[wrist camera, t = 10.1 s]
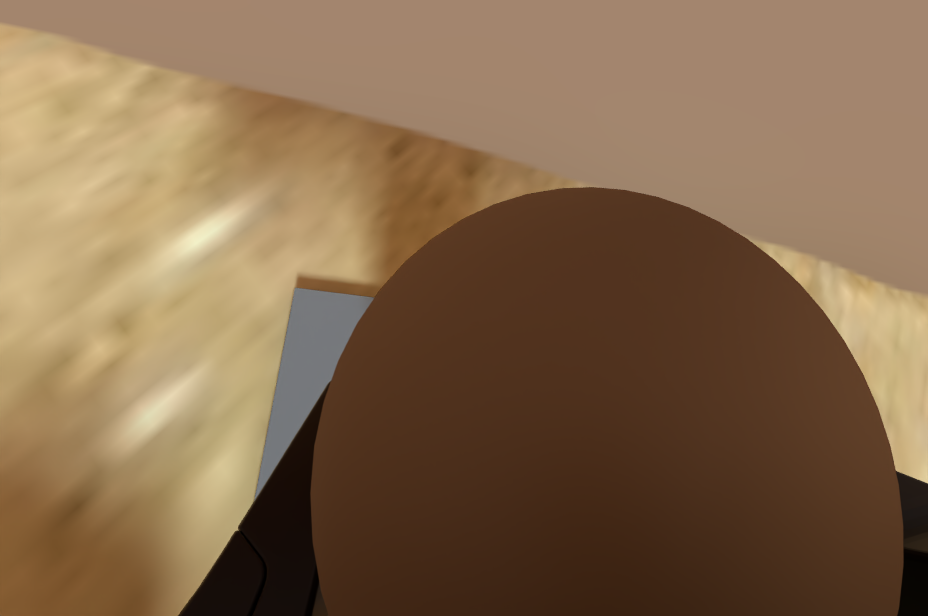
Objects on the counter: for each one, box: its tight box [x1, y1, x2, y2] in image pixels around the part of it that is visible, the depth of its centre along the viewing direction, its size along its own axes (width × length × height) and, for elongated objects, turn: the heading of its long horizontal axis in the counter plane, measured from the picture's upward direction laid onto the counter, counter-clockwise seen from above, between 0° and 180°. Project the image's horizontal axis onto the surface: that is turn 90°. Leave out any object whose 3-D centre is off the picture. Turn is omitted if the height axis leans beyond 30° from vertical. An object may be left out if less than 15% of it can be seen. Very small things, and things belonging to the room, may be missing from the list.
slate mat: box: [254, 288, 374, 501], centre depth 20 cm, size 11×13×1 cm
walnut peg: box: [310, 187, 903, 616], centre depth 9 cm, size 4×4×12 cm
